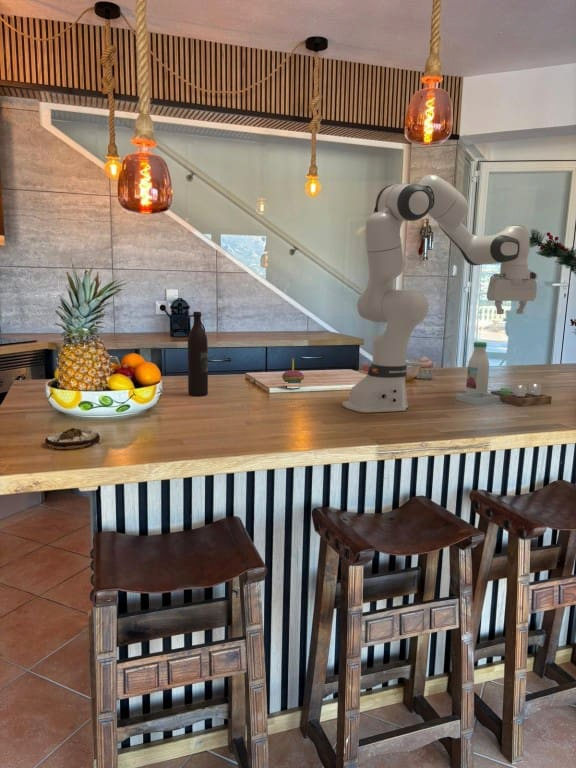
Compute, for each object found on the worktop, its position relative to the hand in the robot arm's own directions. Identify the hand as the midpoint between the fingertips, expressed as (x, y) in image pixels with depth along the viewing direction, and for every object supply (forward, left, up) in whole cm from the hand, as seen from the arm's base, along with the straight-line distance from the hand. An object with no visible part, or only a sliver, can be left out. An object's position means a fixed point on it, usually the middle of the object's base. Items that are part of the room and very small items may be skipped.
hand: (509, 314), depth 199 cm
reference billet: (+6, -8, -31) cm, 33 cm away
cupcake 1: (-61, +49, -31) cm, 84 cm away
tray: (-11, +1, -31) cm, 33 cm away
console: (+1, 0, -31) cm, 31 cm away
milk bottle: (-1, +12, -31) cm, 34 cm away
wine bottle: (-99, +49, -31) cm, 115 cm away
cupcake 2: (+4, +49, -31) cm, 58 cm away
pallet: (+3, -8, -31) cm, 32 cm away
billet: (-1, -8, -31) cm, 32 cm away
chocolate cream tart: (-146, 0, -32) cm, 149 cm away
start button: (+1, 0, -30) cm, 30 cm away
